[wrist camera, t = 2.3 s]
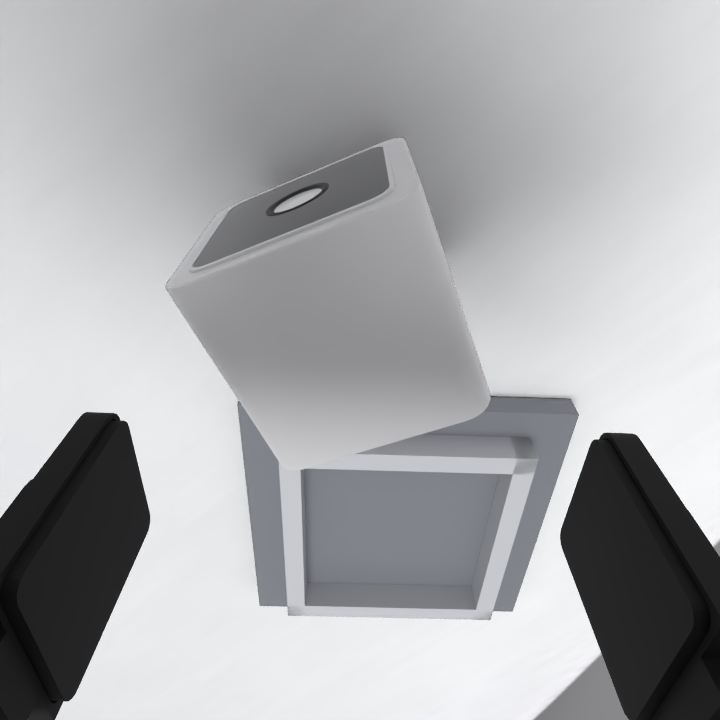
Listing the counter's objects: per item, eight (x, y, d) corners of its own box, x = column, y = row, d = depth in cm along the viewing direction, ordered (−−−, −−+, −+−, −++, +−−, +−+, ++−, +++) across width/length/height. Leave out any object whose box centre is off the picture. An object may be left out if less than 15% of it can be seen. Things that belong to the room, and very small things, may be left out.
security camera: (395, 112, 19) (423, 188, 11) (450, 279, 22) (504, 436, 14) (238, 179, 20) (153, 294, 12) (314, 327, 24) (290, 497, 15)
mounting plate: (242, 388, 26) (230, 425, 23) (570, 399, 26) (590, 435, 24) (262, 588, 34) (255, 629, 32) (508, 594, 35) (518, 634, 32)
